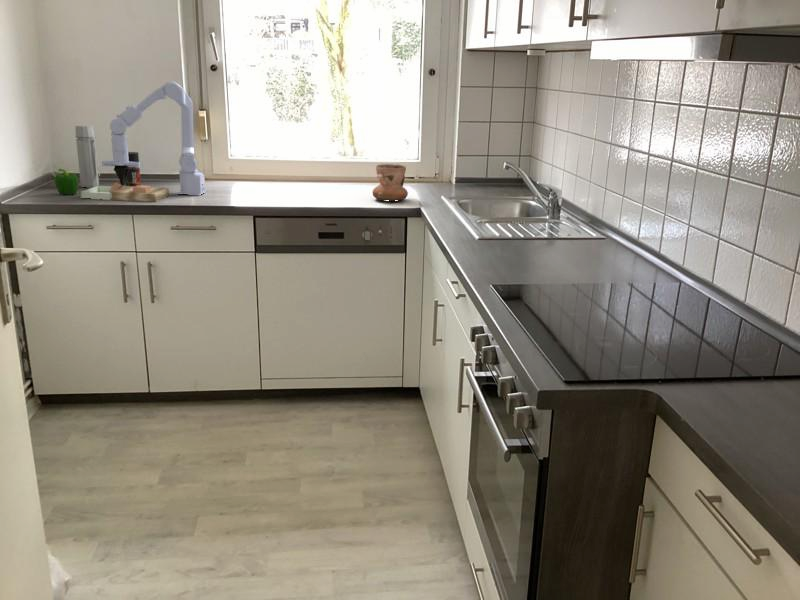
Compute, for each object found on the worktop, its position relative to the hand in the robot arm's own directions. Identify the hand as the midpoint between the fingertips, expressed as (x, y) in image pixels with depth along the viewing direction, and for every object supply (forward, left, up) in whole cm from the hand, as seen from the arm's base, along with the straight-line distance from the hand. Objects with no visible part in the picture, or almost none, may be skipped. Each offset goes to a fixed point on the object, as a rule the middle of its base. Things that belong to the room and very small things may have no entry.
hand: (123, 185), depth 281 cm
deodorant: (+2, -14, -4) cm, 14 cm away
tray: (+7, +3, -4) cm, 8 cm away
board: (-8, +3, -4) cm, 10 cm away
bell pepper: (+21, +3, -4) cm, 21 cm away
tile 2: (-10, +7, -1) cm, 12 cm away
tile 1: (+2, 0, -2) cm, 2 cm away
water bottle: (+20, -15, -4) cm, 25 cm away
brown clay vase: (-105, -16, -4) cm, 106 cm away
